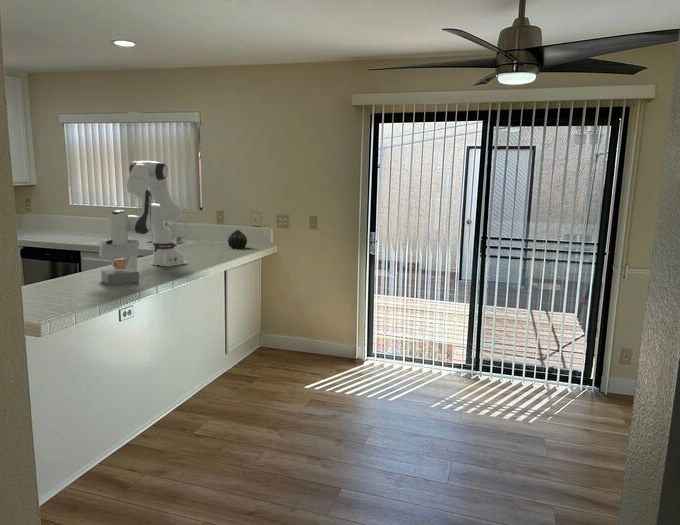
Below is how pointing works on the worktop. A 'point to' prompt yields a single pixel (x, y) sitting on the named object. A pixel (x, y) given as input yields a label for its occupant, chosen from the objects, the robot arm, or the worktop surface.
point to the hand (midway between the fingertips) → (119, 265)
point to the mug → (132, 262)
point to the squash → (237, 240)
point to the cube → (120, 263)
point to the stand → (120, 276)
